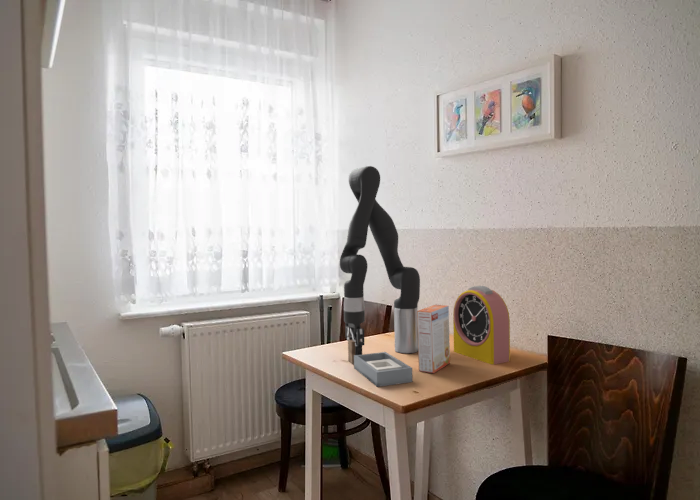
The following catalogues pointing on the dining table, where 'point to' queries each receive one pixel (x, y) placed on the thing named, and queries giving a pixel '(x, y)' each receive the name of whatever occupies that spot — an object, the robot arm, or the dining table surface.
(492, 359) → the alarm clock
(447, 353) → the cracker box
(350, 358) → the peg
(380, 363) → the walled box
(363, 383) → the dining table surface
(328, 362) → the dining table surface
